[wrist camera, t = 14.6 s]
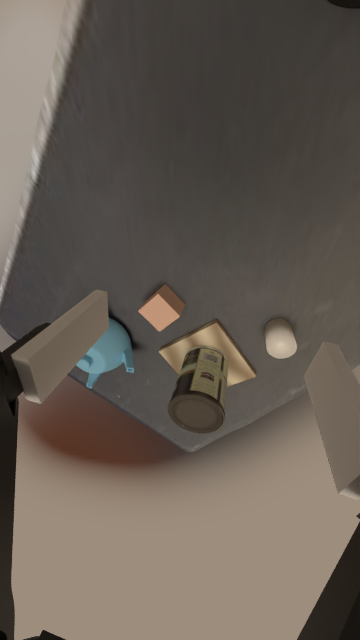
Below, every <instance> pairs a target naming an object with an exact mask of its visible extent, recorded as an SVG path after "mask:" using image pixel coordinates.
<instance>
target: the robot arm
mask: <svg viewBox="0 0 360 640" xmlns="http://www.w3.org/2000/svg"><path fill="white" fill-rule="evenodd" d="M328 1H330V2H331V3H333V4H336V5H338V6H342V7H347V8H360V0H328ZM108 328H109V317H108V294H107V292H105V291H101V290H95V291H94V292H92V293H91V294H90V295H88V296H87V297H86V298H85V299H83V300H82V301H81V302H79V303H78V304H77V305H75V306H74V307H73V308H72V309H70V310H69V311H68V312H66V313H65V314H64V315H62V316H61V317H60V318H59V319H57V320H56V321H55V322H53V323H52V324H50V323H45V324H43V325H40V326H38V327H36V328H34V329H33V330H32V331H30V332H29V334H26V335H25V336H23V337H22V339H19V340H18V341H17V342H16V343H14V344H13V345H11V346H10V347H8V348H7V349H6V350H4V351H3V352H2V353H1V352H0V640H14V622H15V621H14V619H15V617H14V616H15V614H14V600H13V595H12V589H11V568H12V544H13V522H14V498H15V475H16V474H15V472H16V451H17V450H16V449H17V427H18V426H17V425H18V404H19V401H18V398H17V397H18V396H19V395H20V394H21V393H22V392H23V391H24V394H25V397H26V399H27V400H30V401H33V402H36V403H40V404H41V403H42V402H43V401H44V400H45V399H46V398H47V396H48V395H49V394H50V393H51V392H52V391H53V390H54V389H55V387H56V386H57V385H58V384H59V383H60V382H61V381H62V380H63V378H64V377H65V376H66V375H67V374H68V373H69V372H70V371H71V370H72V368H73V367H74V366H75V365H76V364H77V363H78V362H79V361H80V359H81V358H82V357H83V356H84V355H85V354H86V353H87V352H88V351H89V349H90V348H91V347H92V346H93V345H94V344H95V343H96V342H97V340H98V339H99V338H100V337H101V336H102V335H103V334H104V333H105V331H106V330H107V329H108ZM304 379H305V382H306V386H307V389H308V393H309V396H310V399H311V403H312V406H313V410H314V413H315V416H316V420H317V423H318V427H319V430H320V433H321V437H322V440H323V443H324V447H325V450H326V453H327V457H328V461H329V464H330V467H331V471H332V474H333V478H334V481H335V484H336V487H337V491H338V494H340V495H344V496H347V497H350V498H353V499H357V500H360V384H359V383H358V381H357V379H356V377H355V375H354V373H353V372H352V370H351V368H350V366H349V364H348V363H347V361H346V359H345V357H344V355H343V353H342V352H341V350H340V348H339V346H338V345H337V344H333V343H328V342H324V341H323V343H322V345H321V346H320V348H319V350H318V352H317V353H316V355H315V357H314V359H313V360H312V362H311V364H310V366H309V367H308V369H307V371H306V373H305V374H304ZM357 517H358V518H359V519H360V513H359V514H358V515H357ZM24 640H65V639H63V638H61V637H58V636H56V635H54V634H51V633H49V632H47V631H45V630H43V631H42V633H41V635H40V636H35V637H31V638H27V639H24ZM297 640H360V522H359V524H358V526H357V528H356V530H355V532H354V534H353V535H352V537H351V539H350V541H349V543H348V545H347V547H346V549H345V550H344V552H343V554H342V556H341V558H340V560H339V562H338V564H337V565H336V568H335V569H334V571H333V573H332V575H331V577H330V579H329V580H328V582H327V584H326V586H325V588H324V590H323V592H322V594H321V595H320V597H319V599H318V601H317V603H316V605H315V607H314V609H313V611H312V612H311V614H310V616H309V618H308V620H307V622H306V624H305V626H304V627H303V629H302V631H301V633H300V635H299V637H298V639H297Z"/></svg>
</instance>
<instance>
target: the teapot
mask: <svg viewBox="0 0 360 640" xmlns="http://www.w3.org/2000/svg"><path fill="white" fill-rule="evenodd" d="M123 362H124V364H125V366H126V369H127V372H132V373H134V363H133V354H132V346H131V341H130V338H129V335H128V333H127V332H126V330H125V329H124V328H123V326H122V325H121V324H119V323H118V322H117V321H115V320H113V319H111V318H109V328H108V329H107V330H106V331H105V333H104V334H103V335H102V336H101V337H100V338H99V339H98V340H97V342H96V343H95V344H94V345H93V346H92V347H91V348H90V349H89V351H88V352H87V353H86V354H85V355H84V356H83V357H82V358H81V359H80V361H79V362H78V363H77V364H76V365H77V366H78V367H79V368H80V369H82V370H84V371H86V372H88V373H89V378H88V382H87V387H89V388H92V387H93V385H94V384H95V382H96V381H97V379H98V378H99V377H100V375H101V374H102V373H103V372H107V371H110V370H112V369H115V368H116V367H118V366H120V365H121V364H122V363H123Z"/></svg>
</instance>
